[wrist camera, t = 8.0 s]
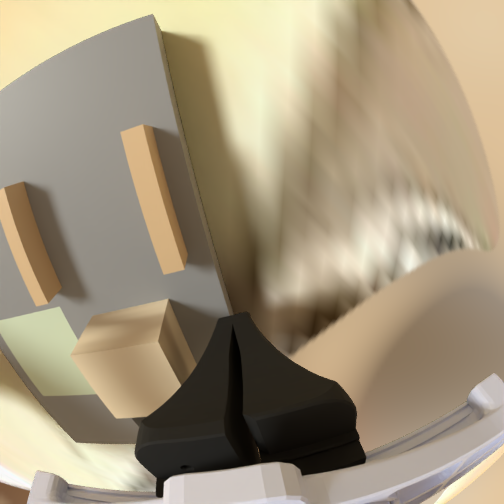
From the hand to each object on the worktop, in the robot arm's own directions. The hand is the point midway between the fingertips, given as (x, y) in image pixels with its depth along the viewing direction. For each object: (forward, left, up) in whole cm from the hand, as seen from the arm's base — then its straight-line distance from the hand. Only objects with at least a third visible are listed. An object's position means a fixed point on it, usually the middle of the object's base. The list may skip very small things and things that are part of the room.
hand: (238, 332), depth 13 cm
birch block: (-4, 0, -1) cm, 5 cm away
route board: (-8, +3, -3) cm, 9 cm away
